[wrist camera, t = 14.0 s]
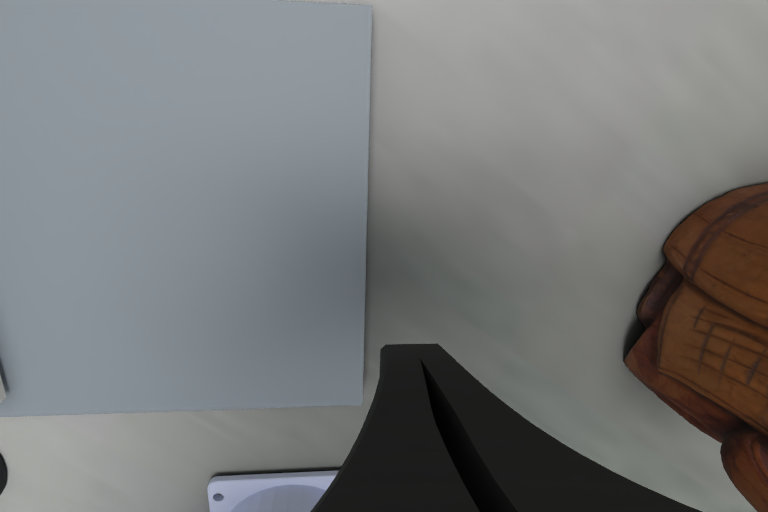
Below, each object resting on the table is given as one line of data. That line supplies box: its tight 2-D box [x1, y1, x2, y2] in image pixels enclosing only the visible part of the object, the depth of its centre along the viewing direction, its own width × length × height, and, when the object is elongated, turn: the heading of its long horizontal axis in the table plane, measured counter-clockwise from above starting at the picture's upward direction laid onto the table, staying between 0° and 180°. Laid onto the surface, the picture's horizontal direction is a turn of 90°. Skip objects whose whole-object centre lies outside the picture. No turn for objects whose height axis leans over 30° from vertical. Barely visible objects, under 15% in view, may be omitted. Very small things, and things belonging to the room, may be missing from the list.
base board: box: [0, 0, 372, 417], centre depth 17 cm, size 16×24×4 cm, turn 88°
